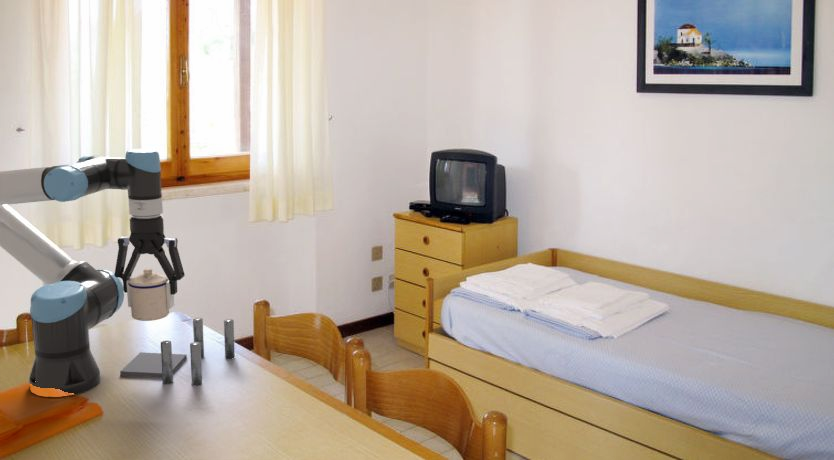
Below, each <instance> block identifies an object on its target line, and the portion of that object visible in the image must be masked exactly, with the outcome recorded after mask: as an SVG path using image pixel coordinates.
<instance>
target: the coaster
mask: <svg viewBox="0 0 834 460" xmlns="http://www.w3.org/2000/svg"><path fill="white" fill-rule="evenodd" d="M187 356H188V355H187V354H182V353H181V354H180V353H172V366H173V375H174V374H175V373H176V372H177V371H178V369H180V368H181V366H182V365H183V363H185V362H186V360H187V359H188V357H187ZM119 375H120V377H134V378H135V377H136V378H155V379H162V361H161V352H142V351H140V352H139V353H138V354H137V355H136V356H135V357H133V359H131V360H130V361H129V362H128V363H127V364H126V365H125V366H124V367H123V368H122V369H121V370H120V371H119Z"/></svg>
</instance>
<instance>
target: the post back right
mask: <svg viewBox="0 0 834 460" xmlns="http://www.w3.org/2000/svg"><path fill="white" fill-rule="evenodd" d="M234 323H235V321H234V319H232V318H229V319H227V318H226V319H224V320H223V333H224V335H223V336H224V337H223V338H224V358H226V360H233V359H232V358H234V357H235V356H236V354H235V324H234ZM235 358H236V357H235ZM235 358H234V359H235Z"/></svg>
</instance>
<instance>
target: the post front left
mask: <svg viewBox="0 0 834 460" xmlns="http://www.w3.org/2000/svg"><path fill="white" fill-rule="evenodd" d="M172 346H173V345H172V341H171V340H163V341H160V353H161V361H162V378H161V379H162V384H163V385H171V384H173V383H174V374H173V366H172V354H173V349H172Z"/></svg>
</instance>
